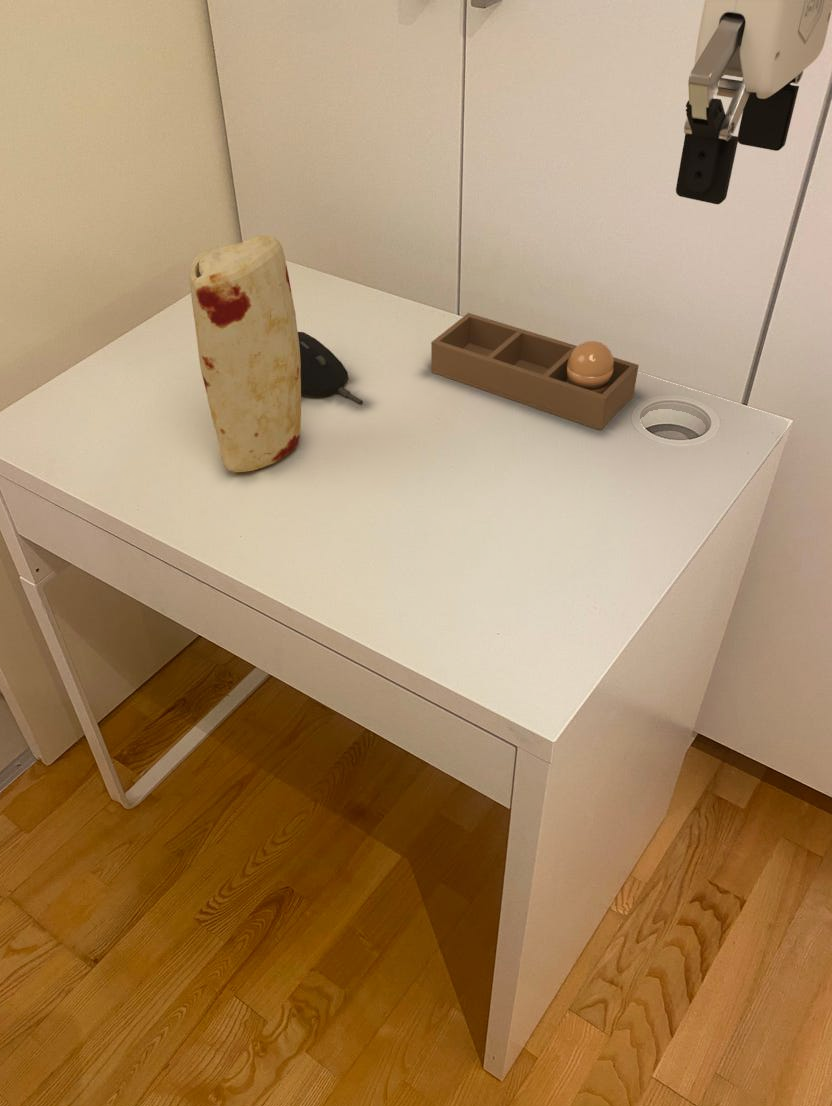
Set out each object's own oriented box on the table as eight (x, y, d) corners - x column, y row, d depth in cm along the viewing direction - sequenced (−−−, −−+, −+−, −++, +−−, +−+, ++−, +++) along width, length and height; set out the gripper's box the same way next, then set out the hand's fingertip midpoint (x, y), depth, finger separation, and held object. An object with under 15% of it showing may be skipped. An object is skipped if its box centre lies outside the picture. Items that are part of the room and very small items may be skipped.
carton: (467, 342, 103) (468, 312, 101) (633, 396, 95) (638, 364, 92) (431, 372, 100) (431, 341, 98) (600, 430, 91) (604, 399, 89)
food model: (250, 494, 88) (213, 282, 74) (202, 465, 92) (157, 257, 77) (327, 443, 93) (306, 233, 78) (278, 417, 96) (249, 212, 82)
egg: (611, 387, 95) (619, 334, 91) (606, 411, 92) (613, 358, 88) (567, 382, 96) (573, 330, 92) (561, 406, 93) (566, 354, 89)
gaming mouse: (339, 418, 95) (336, 382, 92) (237, 368, 103) (231, 333, 100) (383, 390, 98) (381, 354, 95) (281, 342, 106) (276, 308, 103)
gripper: (807, -113, 48) (731, 234, 60) (919, -177, 57) (833, 137, 69) (663, -122, 51) (619, 208, 64) (790, -181, 60) (730, 119, 73)
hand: (731, 171), depth 66 cm, fingers open, 9 cm apart
